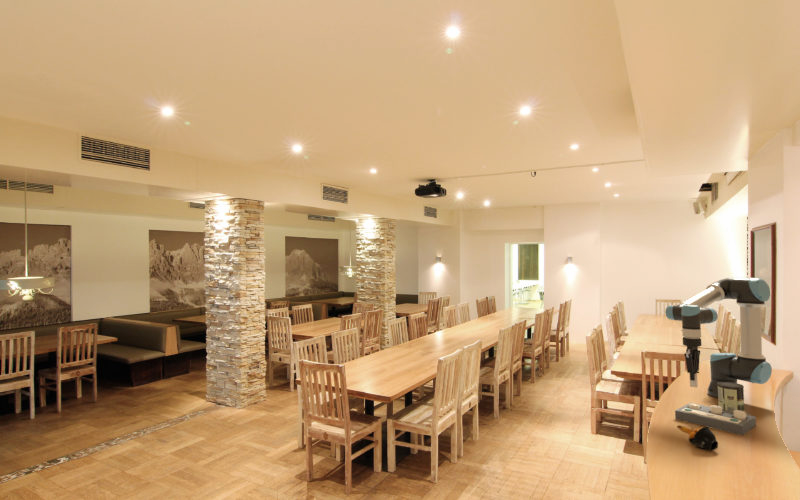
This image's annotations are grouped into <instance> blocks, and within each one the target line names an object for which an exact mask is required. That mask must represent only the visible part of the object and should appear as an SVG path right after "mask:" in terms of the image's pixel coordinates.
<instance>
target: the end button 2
mask: <svg viewBox="0 0 800 500" xmlns="http://www.w3.org/2000/svg"><path fill="white" fill-rule="evenodd" d="M746 415H747V411H745V410H744V411H740V410H734V418H737V419H742V420H746Z"/></svg>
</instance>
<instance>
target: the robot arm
mask: <svg viewBox="0 0 800 500" xmlns="http://www.w3.org/2000/svg"><path fill="white" fill-rule="evenodd" d="M770 289H771V288H770V286H769V284H768V283H767V281H765V280H764V279H762V278H757V277H726V278H723V279H720V280H717V281H715V282H712V283H711V284H709V285H707V286H706V288H705V289H704V290H702V291H701V292H699V293H697V294H695V295H694V296H691V297H690V298H688V299H687V300H684V301H682V302H681V303H679V304H677V305H676V304H675V305H673V304H672V305H668V306H666V308H665V311H664V312H665V317H666V318H667V319H668V320H672V321H680V322H681V324H682V325H681V332H682V345H683V346H685V347H686V350H685V351H686V352H684V353H683V354H684V358H685V366H686V370H687V371H686V373H688V374H689V387H691V388H698V374H700V355H701V350H700V349H698V347H701V346H702V338H701V337H702V329H701V325H704V324H705V325H706V324H712V323H714V322H716V321H717V320H718V315H719V314H718V313H717V311H716V310H715V309H714V308H713V307H708V306H710V305H712V304H713V303H715V302H720V301H722V300H723V301H724V300H736V304H737V305H738V306H739V310H740V311H739V314H740V315H739V317H740V352H739V353H738V354H736V353H733V352H716V353H712V354H711V355H709V356H710V358H709V359H710V360H709V363H710V382H709V384H708V388H707V395H709V396H711V397H712V398H713V397H714V398H717V399H718V385H717V383H718V382H732V383H737V384H738V380H739V381H742V382H747V383H751V384H759V385H764V384H766V383H767V382H768V381H769V380H770V379H771V375H772V371H773V370H772V368H773V367H772V365H771V363H770V362H768V361H767V359H766V356H764V355H763V352H762V350H763V347H762V307H763V306H765V302H767V301H769V300H770V298H771V290H770Z"/></svg>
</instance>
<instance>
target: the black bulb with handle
mask: <svg viewBox="0 0 800 500" xmlns="http://www.w3.org/2000/svg"><path fill="white" fill-rule="evenodd" d="M676 428H677V429H679V430H680V431H681V432H683V433H686V434H687V435H689V436H688V441H689V443H691V444H692V445H694V447H699V448H701V449H704V450H711V451H715V450H716V449H718V447H719V442H718V440H717V436H716V435H715V434H714V433H713V431H712V430H711V428H710V427H706V426H702V427H699V428H697V429H695V428H689V427H686V426H682V425H677V426H676Z"/></svg>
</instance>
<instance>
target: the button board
mask: <svg viewBox="0 0 800 500" xmlns="http://www.w3.org/2000/svg"><path fill="white" fill-rule="evenodd" d="M689 404H695V403H693V402H689V403H687V404H685V405H683V406H681V407H679V408H677V409H675V410H674V412H675V413H674V414H675V418H674V419H675V420H678V421H682V422H686V423H689V424H690V423H691V424H694V425H698V424H699V425H698V426H702V425H703V426H702V427H706V426H707V427H708V428H710V429H715V430H720V431H723V432H727V433H731V434H735V435H739V436H744V435H745V434H747V433H748V432H749V431H751V430H752V429H753V428H755V427H756V426H757V423H756V422H757V420H756V416H755V415H750V414H746V420H742V419H737V418H734V412H732V411H727V410H722V414H721V415H719V414H715V413H711V409H710V406H709V405H708V406H707V405H703V404H698V403H697V404H698V405H700V409H699V410H697V409H692V408H689Z"/></svg>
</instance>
